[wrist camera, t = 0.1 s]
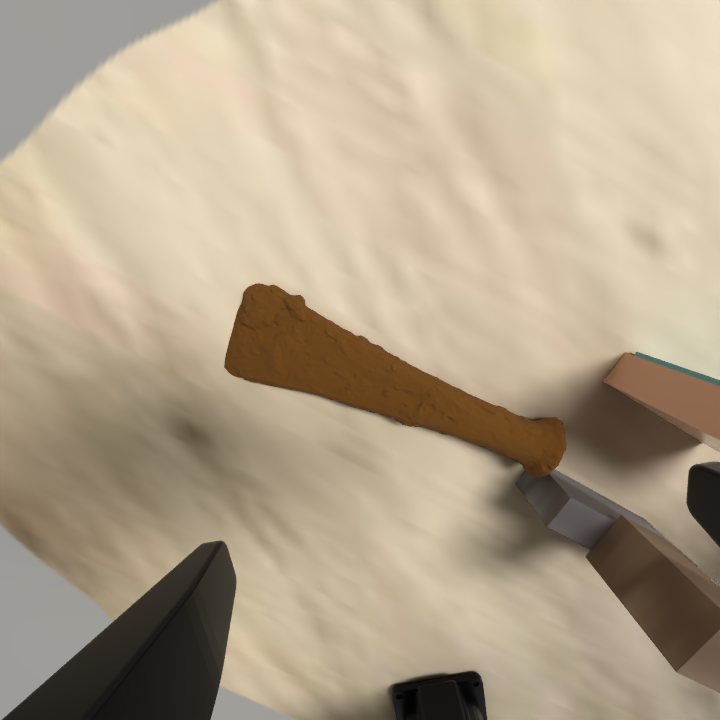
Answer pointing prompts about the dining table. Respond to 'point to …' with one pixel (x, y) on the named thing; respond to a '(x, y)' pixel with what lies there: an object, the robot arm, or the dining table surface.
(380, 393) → the primitive tool
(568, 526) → the two-tone stacked blocks
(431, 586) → the dining table surface
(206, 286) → the dining table surface
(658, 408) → the tan block
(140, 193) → the dining table surface
